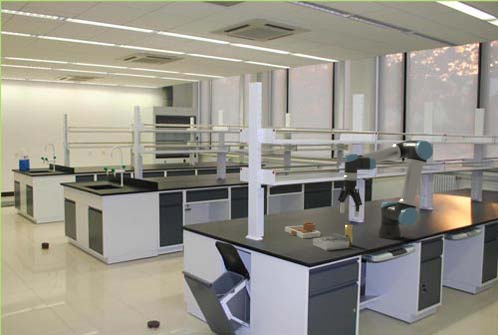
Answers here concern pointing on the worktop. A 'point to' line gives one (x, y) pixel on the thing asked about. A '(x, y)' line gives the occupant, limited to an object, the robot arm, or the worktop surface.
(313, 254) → the worktop surface
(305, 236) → the cradle
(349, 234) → the gold brass cylinder
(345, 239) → the jig
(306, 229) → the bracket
